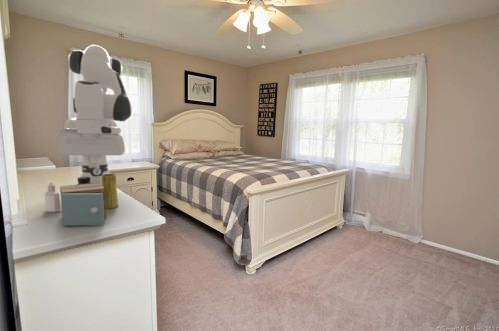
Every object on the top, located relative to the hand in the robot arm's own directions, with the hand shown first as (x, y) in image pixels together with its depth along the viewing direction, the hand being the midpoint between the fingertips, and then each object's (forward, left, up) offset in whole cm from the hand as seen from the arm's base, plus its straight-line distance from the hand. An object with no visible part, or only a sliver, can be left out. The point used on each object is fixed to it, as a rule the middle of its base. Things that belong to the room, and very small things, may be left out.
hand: (94, 168), depth 93 cm
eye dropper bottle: (-25, -12, -21) cm, 35 cm away
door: (+1, -4, -20) cm, 20 cm away
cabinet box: (-9, -3, -20) cm, 23 cm away
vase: (-19, +8, -21) cm, 29 cm away
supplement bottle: (-30, 0, -21) cm, 37 cm away
